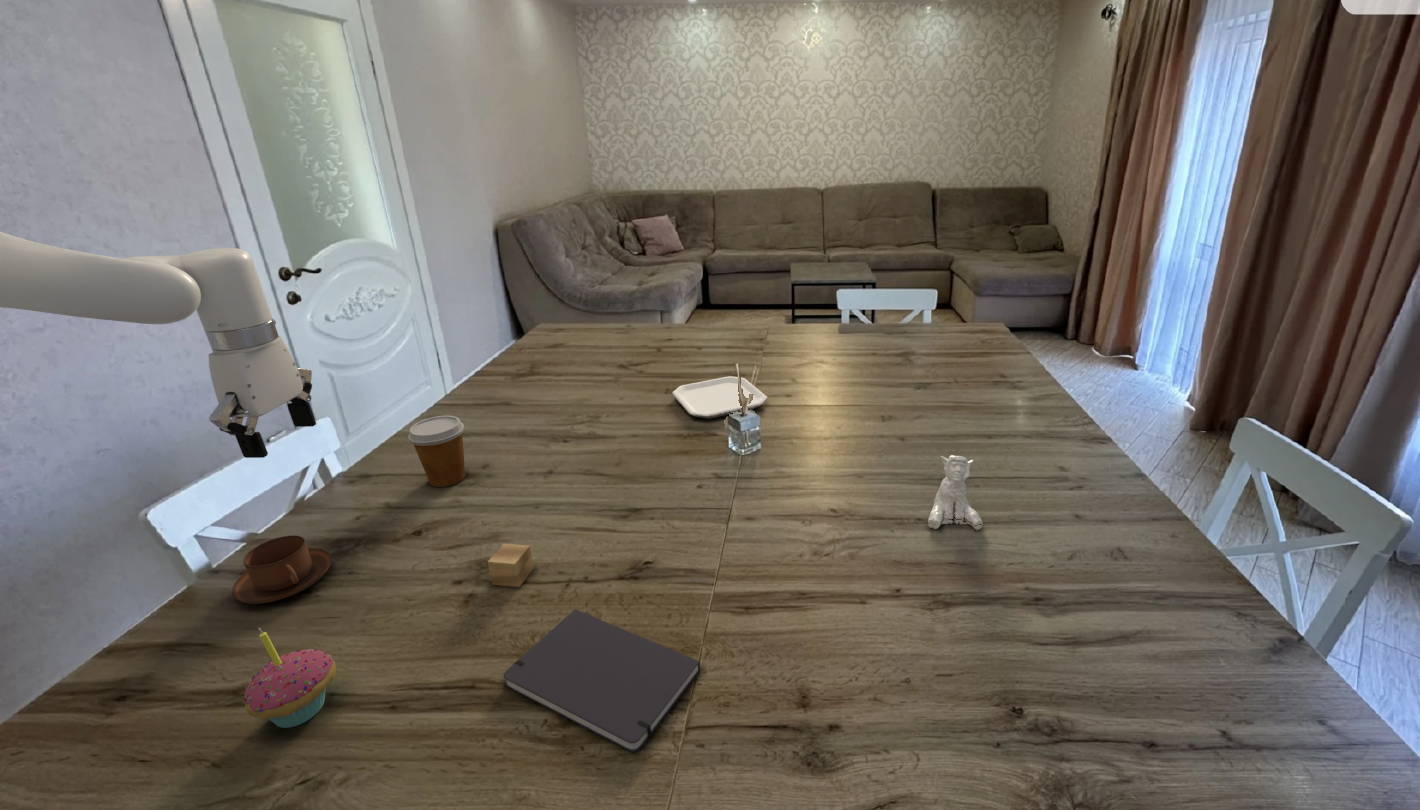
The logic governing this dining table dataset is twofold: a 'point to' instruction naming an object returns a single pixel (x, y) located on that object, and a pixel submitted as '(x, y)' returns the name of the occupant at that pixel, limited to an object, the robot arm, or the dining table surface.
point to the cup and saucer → (280, 570)
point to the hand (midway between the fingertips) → (282, 440)
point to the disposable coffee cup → (440, 449)
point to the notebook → (603, 678)
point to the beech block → (511, 565)
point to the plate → (716, 397)
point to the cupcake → (289, 685)
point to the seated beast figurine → (954, 496)
